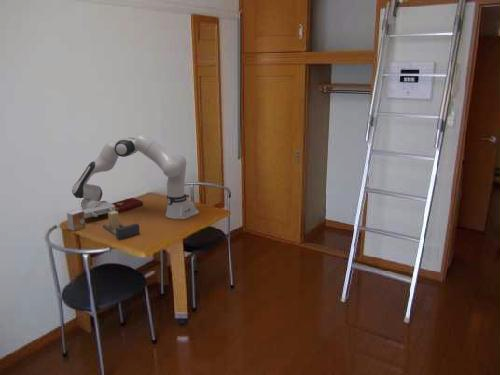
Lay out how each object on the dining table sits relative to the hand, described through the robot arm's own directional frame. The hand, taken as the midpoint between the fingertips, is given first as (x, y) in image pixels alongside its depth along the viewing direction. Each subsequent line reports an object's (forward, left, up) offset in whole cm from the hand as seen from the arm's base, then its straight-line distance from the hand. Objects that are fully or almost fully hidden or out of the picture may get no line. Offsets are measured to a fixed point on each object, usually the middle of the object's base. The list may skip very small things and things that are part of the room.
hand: (104, 213), depth 262 cm
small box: (+17, -2, -6) cm, 18 cm away
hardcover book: (-23, -17, -6) cm, 29 cm away
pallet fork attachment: (0, +18, -6) cm, 19 cm away
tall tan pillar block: (0, +12, -6) cm, 13 cm away
